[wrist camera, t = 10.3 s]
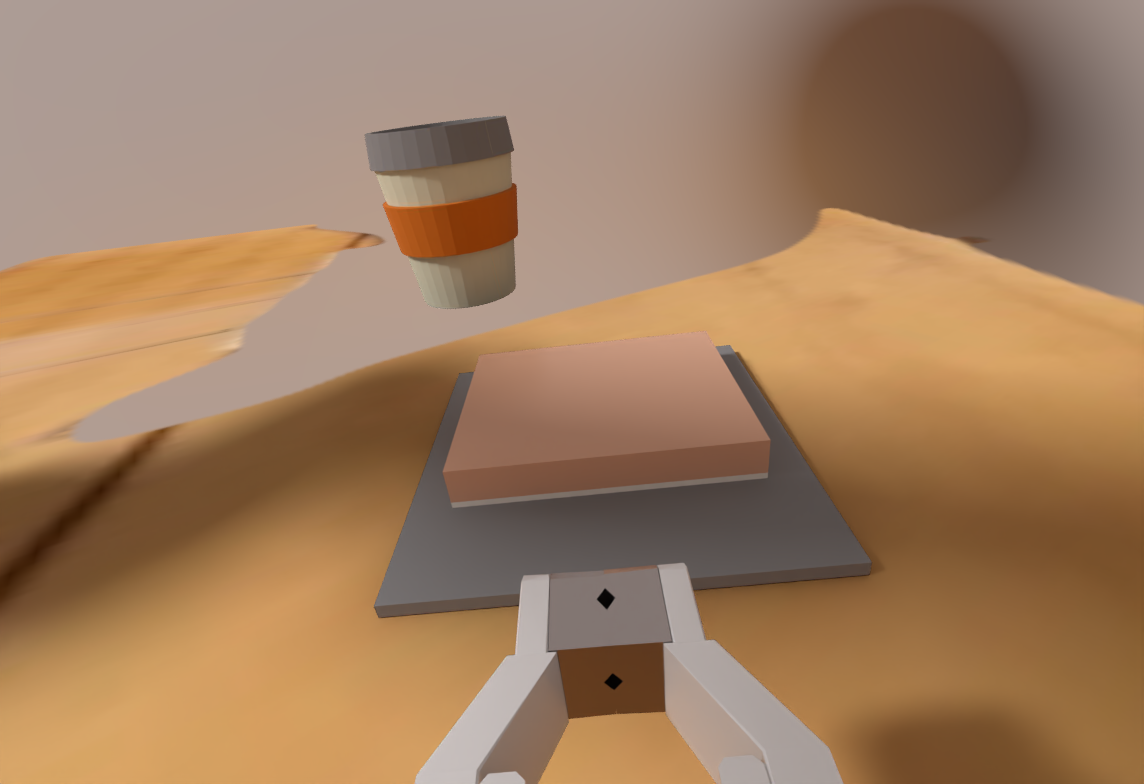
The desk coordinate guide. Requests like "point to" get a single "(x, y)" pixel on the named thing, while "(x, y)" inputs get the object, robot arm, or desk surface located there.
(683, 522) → the mat
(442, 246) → the reusable coffee cup
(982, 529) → the desk surface
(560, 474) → the tile
